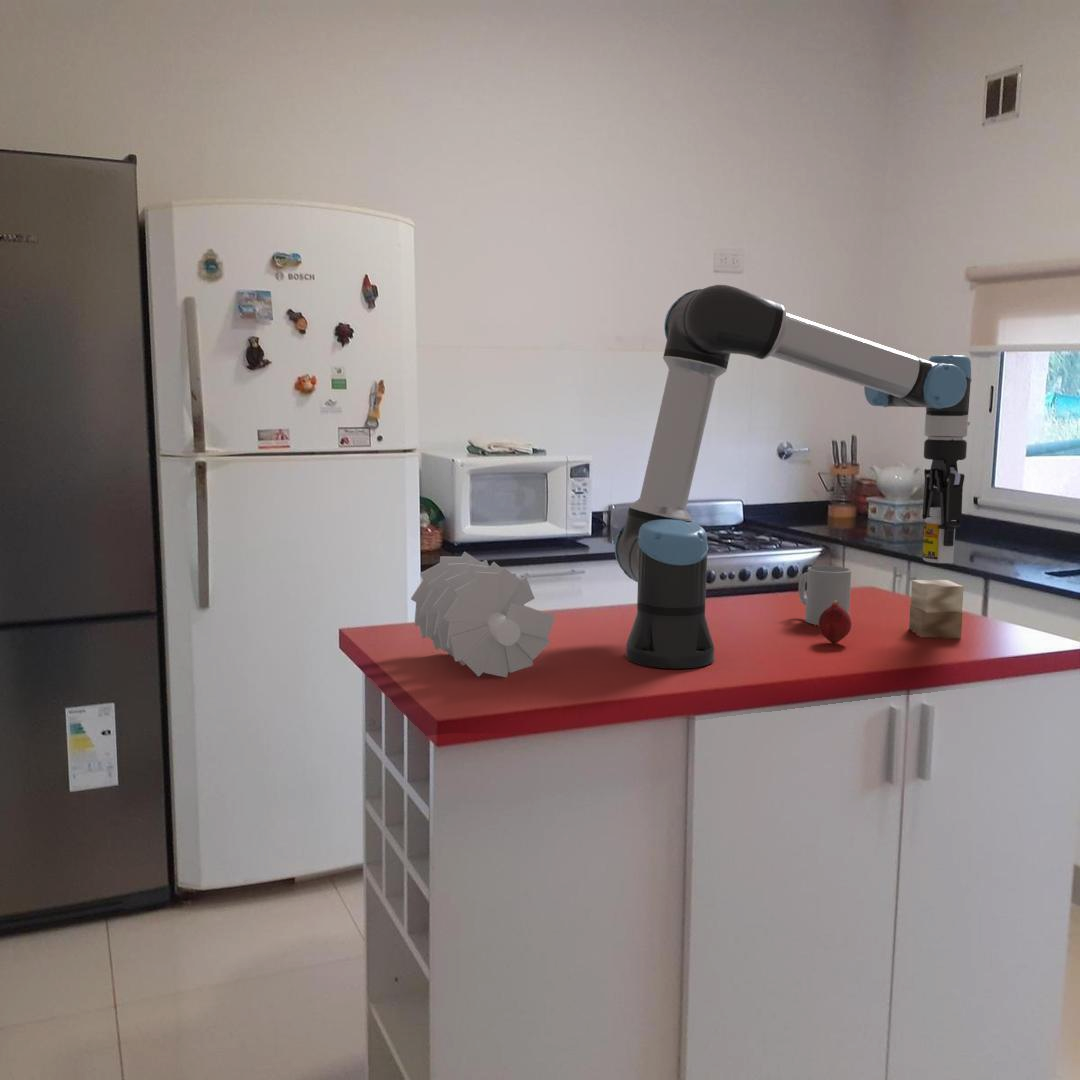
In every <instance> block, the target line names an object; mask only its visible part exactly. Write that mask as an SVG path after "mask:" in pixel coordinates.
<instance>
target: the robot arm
mask: <svg viewBox="0 0 1080 1080" xmlns="http://www.w3.org/2000/svg"><path fill="white" fill-rule="evenodd" d="M663 326H664V327H663V328H664V334H665V338H666V343H665V347H664V352H663V357H662V359H663V361H664V362H665V364H666V366H667V367H668V373H667V375H666V376H667V377H666V381H665V386H664V390H663V395H662V398H661V404H660V407H659V412H658V418H657V421H656V426H655V429H654V434H653V438H652V442H651V448H650V451H649V457H648V460H647V465H646V469H645V473H644V478H643V481H642V483H643V484H642V487H641V492H640V496H639V498H638V499H637V500H635V502H632V503H631V504H630V505H629V507H628V512H627V515H626V519H625V520H626V521H625V524H624V525H623V526H622V527H620V529H619V530H618V532H617V535H616V537H615V540H614V555H615V559H616V562H617V563H618V566H619V568H620V569H621V570H622V571H623V574H625V575H626V576H627V577H628V578H629V579H631V580H633V581H635V583H637V599H636V600H637V602H636V605H637V606H636V607H637V608H636V616H635V619H634V621H633V624H632V628H631V631H630V632H629V635H628V637H627V641H626V645H625V658H626V659H627V660H628V661H630V662H632V663H634V664H637V665H640V666H646V667H650V668H658V669H659V668H660V669H674V670H675V669H677V670H678V669H692V668H693V669H694V668H700V667H705V666H709V665H710V664H712V663H714V661H715V645H714V642H713V638H712V636H711V631H710V628H709V624H708V622H707V621H708V620H707V618H706V599H707V597H706V596H707V595H706V594H707V574H708V573H707V569H708V554H709V553H708V552H709V543H708V535H707V532H706V530H705V529H704V528H703V527H702V526H701V525H699V524H697V523H695V522H692V521H693V519H692V517H691V516H690V513H689V512H688V511H687V504H688V501H689V496H690V493H691V487H692V484H693V483H692V482H693V479H694V475H695V471H696V466H697V461H698V458H699V453H700V449H701V445H702V442H703V441H702V440H703V435H704V432H705V427H706V424H707V419H708V414H709V409H710V405H711V403H712V402H711V401H712V398H713V397H712V396H713V392H714V388H715V384H716V380H717V379H718V378H719V377H720V376H722V375H724V374H725V373H727V371H728V370H727V369H728V366H729V361H730V357H731V354H733V355H734V354H735V355H744V356H750V357H753V358H757V359H759V360H765V359H767V358H768V357H772V358H775V359H778V360H781V361H784V362H788V363H791V364H794V365H797V366H800V367H804V368H806V369H810V370H813V371H816V372H819V373H822V374H825V375H829V376H832V377H833V378H838V379H841V380H844V381H847V382H850V383H854V384H857V385H859V386H863V387H864V389H863V390H864V397H865V399H866V401H867V403H869V405H871V406H873V407H883V408H887V407H888V408H889V407H893V408H894V407H896V408H897V407H900V408H901V407H902V408H925V421H924V436H925V437H927V439H925V440H924V443H923V458H924V459H925V460H932V461H931V465H930V468H924V471H923V472H924V489H923V501H922V502H923V503H922V515H921V516H922V519H923V520H925V519H926V518H927V517H930V515H929V513H930V508H931V507H941V521H942V525H939V526H938V529H939V543H938V561H937V563H936V564H954V556H955V555H954V553H955V538H956V537H955V536H956V529H957V528H958V527H959V528H960V527H961V526H962V514H963V513H962V512H963V490H964V489H963V486H964V482H965V478H966V477H965V474H964V473H963V472H961V473H959V472H958V471H959V469H958V461H964V460H965V459H967V445H968V442H967V440H965V439H964V438H966V437H967V436H968V428H969V426H970V425H971V422H970V420H969V411H970V394H971V383H972V365H971V359H970V358H969V356H966V355H959V354H957V355H956V354H954V355H949V354H948V355H947V354H946V355H944V354H943V355H931V356H930V357H929V359H928V360H927V359H924V358H921V357H917V356H915V355H912V354H909V353H907V352H904V351H901V350H897V349H895V348H892V347H888V346H885V345H882V344H880V343H878V342H873V341H871V340H868V339H865V338H862V337H858V336H855V335H853V334H850V333H847V332H844V331H842V330H838V329H835V328H832V327H829V326H827V325H824V324H820V323H818V322H815V321H811V320H809V319H806V318H803V317H800V316H798V315H794V314H791V313H788V312H787V311H786V309H785V307H784V305H783V304H781V303H778V302H775V301H773V300H769V299H767V298H764V297H761V296H760V295H757V294H754V293H751V292H749V291H747V290H743V289H741V288H739V287H736V286H731V285H727V284H715V285H711V286H710V285H709V286H707V287H703V288H699V289H693V290H691V291H688V292H686V293H684V294H682V295H681V296H680V297H679V298H678V299H676V300H675V301H674V302H673V304H671V306H670V308H669V309H668V311H667V312H666V315H665V319H664V325H663Z"/></svg>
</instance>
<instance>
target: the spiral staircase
mask: <svg viewBox="0 0 1080 1080" xmlns="http://www.w3.org/2000/svg"><path fill="white" fill-rule="evenodd" d="M419 575H420V576H421V579H422V581H421V582H420V584H419V585H418V587H417V588H416V590H415V592H414V593H413V594H412V595H411V597H410V600H411V601H412V602H415V612H414V613H415V614H414V626H415V627H417V626H418V627H419V631H420V635H421V638H422V639H427V638H429V639H430V640H431V641H432V644H433V647H434V650H436V651H437V650H439V649H441V650H442V651H443V652H444V653H445V652H446V653H447V654H449V655H450V656H451V657H453V659H454V662H459V663H460V665H461V666H462V667H463V666H465V665H466V666H467V667H468V668H469V669H470V670H471V671H472V672H473V673H474V674H475V675H476V676H477V677H480V676H481V675H483V673H484V674H489V675H493V676H497V677H503V678H507V677H508V674H510V673H515V672H516V671H520V670H523V669H526V668H529V667H532V666H533V665H534V663H533V661H534V660H535V659H536V658H537V657H538V656H539V654H541V653H542V652H543V651H544V650H545V648H546V647H547V646H549V644H550V643H551V641H550V640H549V636H550V633H551V630H552V628H553V627H552V626H553V624H554V620H555V617H556V614H554V613H550V612H545V611H542V610H538V609H536V608H533V607H531V606H530V607H529V606H526V605H525V604H527V603H529V602H531V601H533V600H535V596H534V593H533V590H532V588H531V586H530V583H529V581H528V579H527V577H526V576H524V577H522V578H519V577H518V576H517V574H516V573H515V572H513V573H512V572H510V571H509V570H508V569H507V568H505V567H503V566H500V565H498V564H497V563H496V562H495V561H493V562H491V564H490V565H489V563H488V560H487V559H485V560H483V561H482V560H481V561H480V560H479V559H476V558H475V557H473V556H472V555H471V554H470V553H468V552H466V551H464V552H463V553H462V554H461V556H443V555H442V556H441V555H440V557H439V563H437V564H435V565H433V566H431V567H429V568H427V569H426V570H423V571H422V572H420V573H419Z"/></svg>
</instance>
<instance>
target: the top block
mask: <svg viewBox="0 0 1080 1080" xmlns="http://www.w3.org/2000/svg"><path fill="white" fill-rule="evenodd" d="M964 587H965V586H963V585H961V584H958V583H956V582H953V581H951V580H948V579H912V581H911V595H910V596H911V597H910V605H911V606H913V607H915V608H917V609H920V610H922V611H924V612H926V613H943V612H961V613H963V603H964V602H963V601H964V598H963V597H964V589H965V588H964Z"/></svg>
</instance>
